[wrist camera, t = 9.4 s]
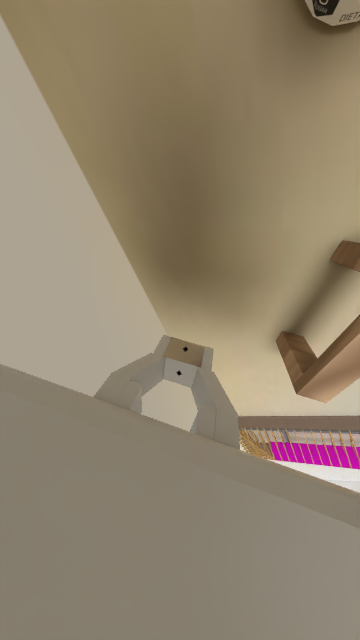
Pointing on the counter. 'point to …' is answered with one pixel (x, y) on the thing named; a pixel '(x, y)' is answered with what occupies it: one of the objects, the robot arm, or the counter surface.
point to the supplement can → (335, 11)
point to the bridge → (338, 359)
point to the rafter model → (305, 452)
